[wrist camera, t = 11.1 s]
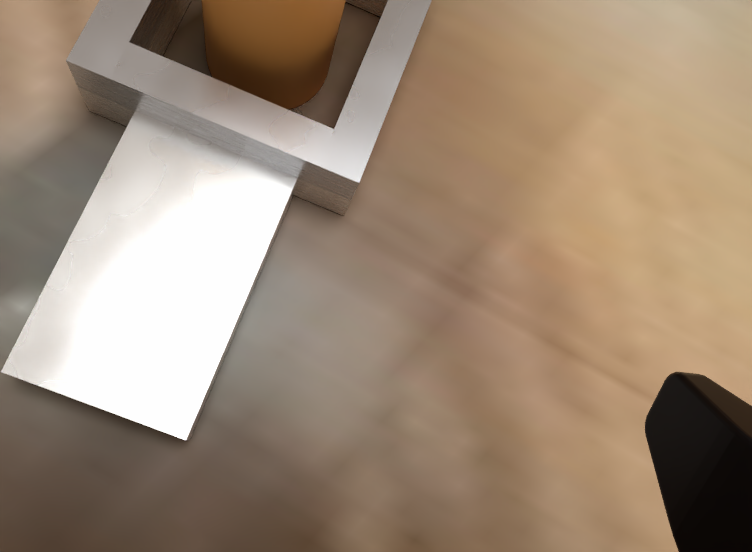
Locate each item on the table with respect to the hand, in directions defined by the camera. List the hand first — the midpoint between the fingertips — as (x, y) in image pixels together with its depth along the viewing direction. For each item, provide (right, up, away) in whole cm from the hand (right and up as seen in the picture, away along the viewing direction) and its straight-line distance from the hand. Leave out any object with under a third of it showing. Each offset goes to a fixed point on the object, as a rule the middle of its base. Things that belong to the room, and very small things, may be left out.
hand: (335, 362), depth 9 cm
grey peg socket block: (-3, +8, +14) cm, 17 cm away
